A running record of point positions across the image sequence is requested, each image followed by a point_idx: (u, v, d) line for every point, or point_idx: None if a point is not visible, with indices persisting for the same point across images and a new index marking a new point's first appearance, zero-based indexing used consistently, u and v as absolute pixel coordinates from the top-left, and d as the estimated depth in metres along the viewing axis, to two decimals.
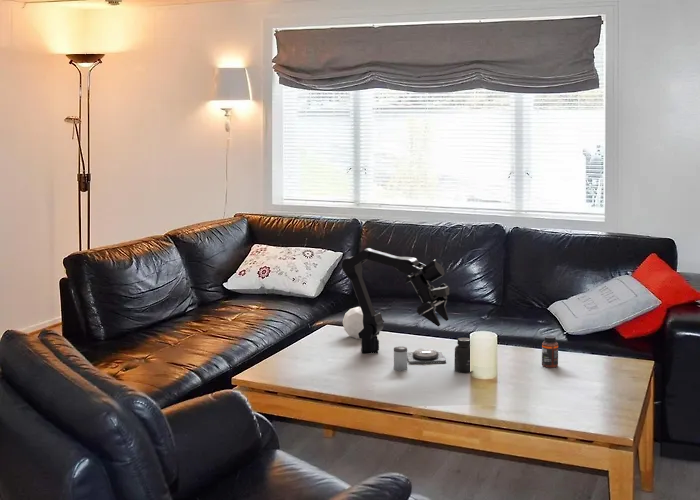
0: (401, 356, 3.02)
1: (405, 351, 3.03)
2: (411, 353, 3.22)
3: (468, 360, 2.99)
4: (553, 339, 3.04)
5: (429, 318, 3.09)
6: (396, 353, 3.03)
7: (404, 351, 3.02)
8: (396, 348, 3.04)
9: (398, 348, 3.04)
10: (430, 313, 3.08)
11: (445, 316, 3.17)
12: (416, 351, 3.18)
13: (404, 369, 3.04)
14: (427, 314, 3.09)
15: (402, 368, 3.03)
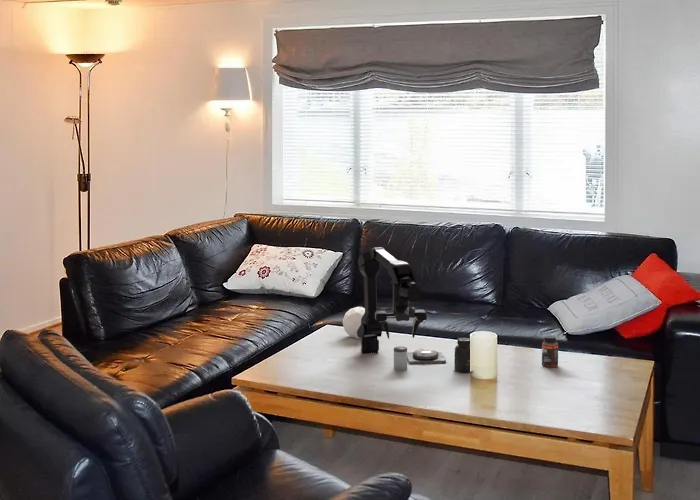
0: (401, 356, 3.02)
1: (405, 351, 3.03)
2: (411, 353, 3.22)
3: (468, 360, 2.99)
4: (553, 339, 3.04)
5: None
6: (395, 353, 3.03)
7: (404, 351, 3.02)
8: (396, 348, 3.04)
9: (398, 348, 3.04)
10: None
11: (412, 333, 3.04)
12: (416, 351, 3.18)
13: (404, 369, 3.04)
14: None
15: (402, 368, 3.03)
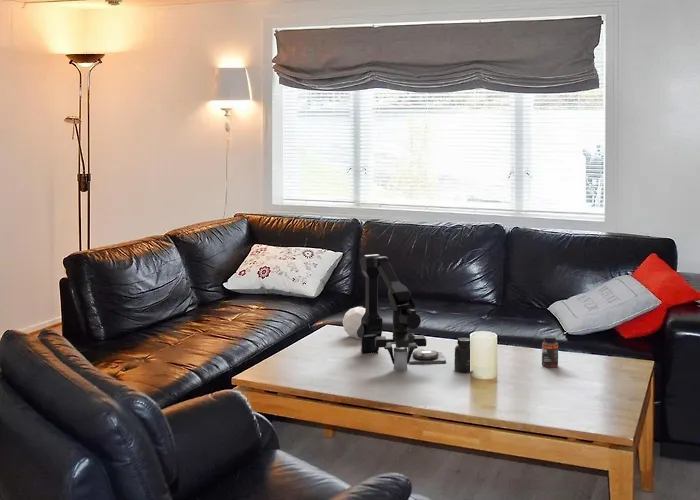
0: (401, 356, 3.02)
1: (405, 351, 3.03)
2: None
3: (468, 360, 2.99)
4: (553, 339, 3.04)
5: None
6: (396, 353, 3.03)
7: (404, 351, 3.02)
8: (396, 348, 3.04)
9: (398, 348, 3.04)
10: None
11: (407, 359, 3.05)
12: (416, 351, 3.18)
13: (404, 369, 3.03)
14: None
15: (402, 368, 3.03)
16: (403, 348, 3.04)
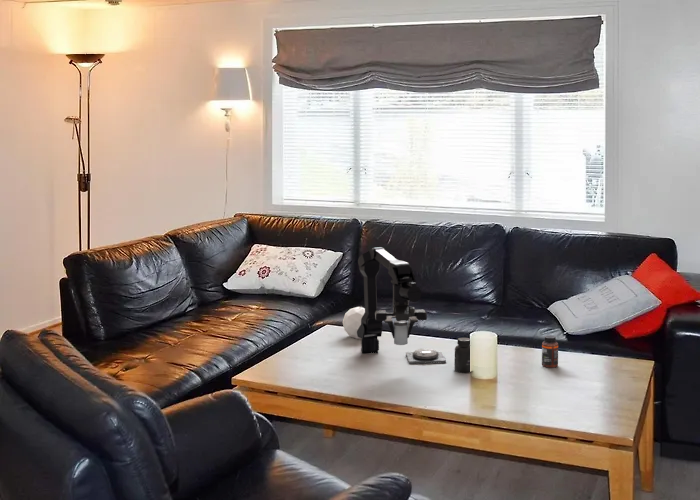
0: (401, 330, 3.01)
1: (405, 325, 3.01)
2: (411, 353, 3.22)
3: (468, 360, 2.99)
4: (553, 339, 3.04)
5: None
6: (396, 327, 3.01)
7: (404, 325, 3.01)
8: (396, 322, 3.03)
9: (398, 322, 3.03)
10: None
11: None
12: (416, 351, 3.18)
13: (404, 343, 3.02)
14: None
15: (402, 342, 3.02)
16: (403, 322, 3.03)
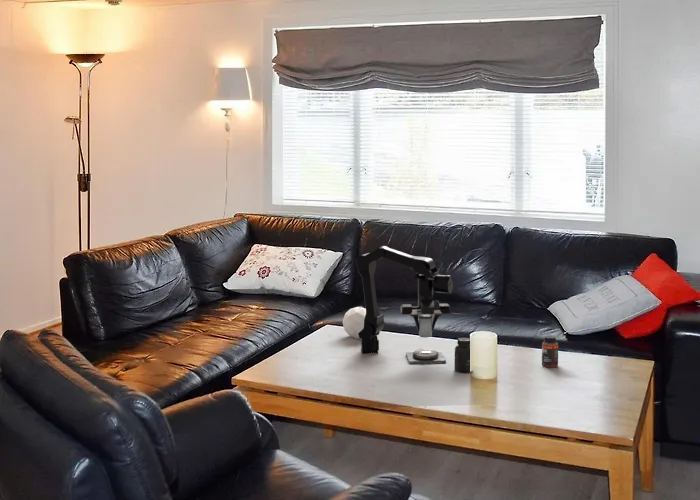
0: (426, 323, 3.13)
1: (430, 318, 3.14)
2: (411, 353, 3.22)
3: (468, 360, 2.99)
4: (553, 339, 3.04)
5: None
6: (421, 320, 3.14)
7: (429, 318, 3.13)
8: (421, 315, 3.15)
9: (423, 315, 3.15)
10: None
11: None
12: (416, 351, 3.18)
13: (429, 336, 3.14)
14: None
15: (427, 334, 3.14)
16: (428, 315, 3.15)
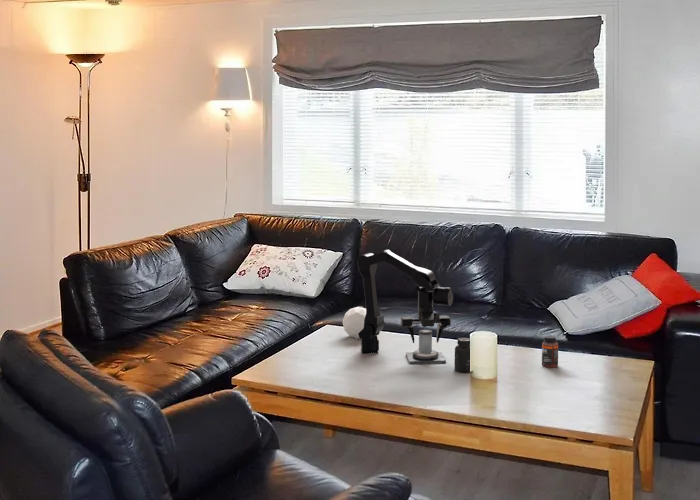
0: (426, 339, 3.14)
1: (430, 334, 3.14)
2: (411, 353, 3.22)
3: (468, 360, 2.99)
4: (553, 339, 3.04)
5: None
6: (421, 336, 3.15)
7: (429, 334, 3.14)
8: (421, 331, 3.16)
9: (423, 331, 3.16)
10: None
11: (436, 338, 3.17)
12: (416, 351, 3.18)
13: (429, 351, 3.15)
14: None
15: (427, 350, 3.15)
16: (428, 331, 3.16)
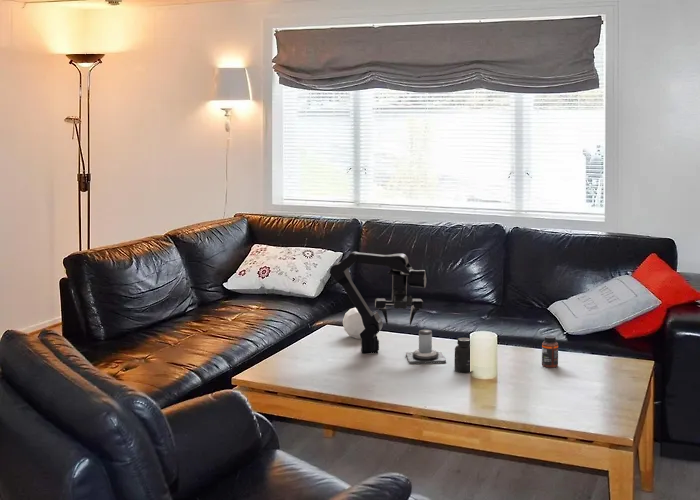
0: (426, 339, 3.14)
1: (430, 334, 3.15)
2: (411, 353, 3.22)
3: (468, 360, 2.99)
4: (553, 339, 3.04)
5: None
6: (421, 336, 3.15)
7: (429, 334, 3.14)
8: (421, 331, 3.16)
9: (423, 331, 3.16)
10: None
11: None
12: (416, 351, 3.18)
13: (429, 351, 3.15)
14: None
15: (427, 350, 3.15)
16: (428, 331, 3.16)
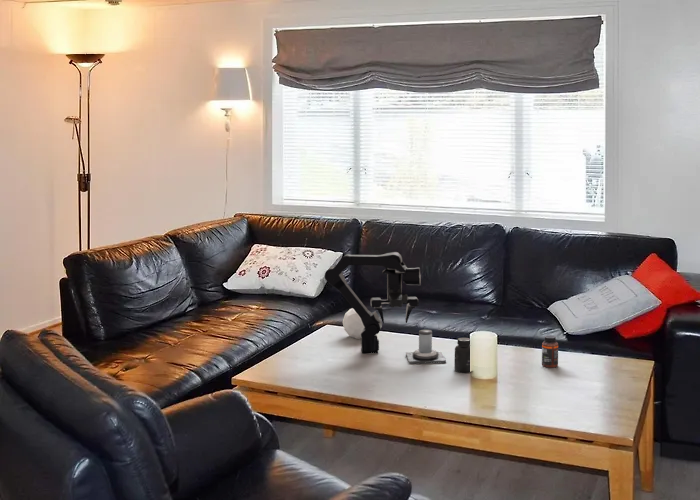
0: (426, 339, 3.14)
1: (430, 334, 3.15)
2: (411, 353, 3.22)
3: (468, 360, 2.99)
4: (553, 339, 3.04)
5: None
6: (421, 336, 3.15)
7: (429, 334, 3.14)
8: (421, 331, 3.16)
9: (423, 331, 3.16)
10: None
11: (405, 318, 3.25)
12: (416, 351, 3.18)
13: (429, 351, 3.15)
14: None
15: (427, 350, 3.15)
16: (428, 331, 3.16)
